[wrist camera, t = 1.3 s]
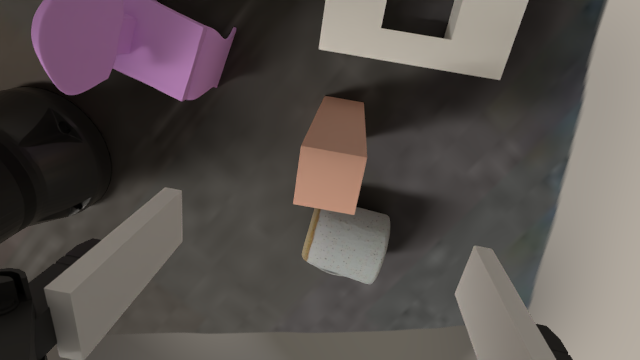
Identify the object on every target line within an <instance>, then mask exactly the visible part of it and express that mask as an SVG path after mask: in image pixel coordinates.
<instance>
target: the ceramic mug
mask: <svg viewBox="0 0 640 360" xmlns="http://www.w3.org/2000/svg"><path fill="white" fill-rule="evenodd" d="M389 236H390V218H389V216H388V215H386V214H382V213H378V212H374V211H370V210H366V209H363V208H359V207H356V210H355V214H354V215H351V214H345V213H340V212H334V211H329V210H324V209H318V208H315V209H314V213H313V216H312V219H311V223H310V226H309V230H308V233H307V236H306V240H305V243H304V247H303V251H302V256H303V258H304V260H305V261H307V262H308V263H310V264H312V265H314V266H316V267H318V268H319V269H321V270H322V271H325V272H327V273H330V274H333V275H338V276H346V277H349V278H352V279H354V280H357V281H360V282H363V283H366V284H372V283H373V282H374V281H375V279H376V278H377V276H378V274H379V272H380V269H381V266H382V263H383V260H384V258H385V254H386V251H387V247H388V240H389Z"/></svg>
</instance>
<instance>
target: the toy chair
mask: <svg viewBox="0 0 640 360" xmlns="http://www.w3.org/2000/svg"><path fill="white" fill-rule="evenodd" d="M236 29H237V28H235V27H233V29H232V31H231V33H230V35H229V36H228V38H226V39H224V38H223V37H222V36H221V35H220V34H219V33H218V32H217V31H216V30H215V29H213V28H211V27H208V26H206V25H203V24H201V23H199V22H197V21H195V20H193V19H191V18H189V17H187V16H185V15H183V14H180V13H178V12H176V11H174V10H172V9H170V8H168V7H166V6H164V5H163V4H161V3H159V2H157V0H44V1H43V2H42V3H41V5H40V6H39V8H38V9H37V11H36V13H35V15H34V17H33V21H32V28H31V37H32V43H33V47H34V49H35V52H36V54H37V56H38V58H39V60H40V62H41V64H42V66H43V68H44V69H45V71H46V73H47V74H48V76H49V77H50V79H51V80H52V82H53V83H54V85H55V86H56V87H57V88H58V89H59V90H60V91H61V92H63V93H65V94H66V95H77V94H80V93H83V92H85V91H87V90H89V89H91V88H92V87H94V86H96V85H98V84H99V83H101V82H103V81H104V80H106V79H108V78H109V75H110V73H111V70H112V68H113V69H115V70H117V71H119V72H121V73H123V74H125V75H128V76H130V77H132V78H134V79H137V80H139V81H141V82H143V83H145V84H147V85H149V86H151V87H153V88H155V89H157V90H159V91H161V92H163V93H165V94H167V95H169V96H171V97H173V98H175V99H177V100H179V101H184V100H186V99H187V100H195V99H197V98H198V97H200V96H201V95H203V94H204V93H206V92H207V91H208V90H210V89H211V88H212V87H215V88H217V86H218V83H219V80H220V77H221V74H222V71H223V68H224V65H225V62H226V59H227V56H228V53H229V50H230V47H231V44H232V41H233V39H234V36H235V32H236Z"/></svg>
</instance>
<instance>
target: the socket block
mask: <svg viewBox="0 0 640 360" xmlns="http://www.w3.org/2000/svg"><path fill="white" fill-rule="evenodd" d="M528 1H529V0H454V4H453V7H452V11H451V14H450V18H449V21H448V25H447V29H446V32H445V36H444V39H443V38H437V37H431V36H425V35H419V34H413V33H407V32H402V31H396V30H390V29H384V28H381V26H382V21H383V16H384V11H385V7H386V2H387V0H326V1H325V8H324V15H323V22H322V29H321V36H320V43H319V49H320V50H326V51H332V52H338V53H343V54H349V55H355V56H361V57H367V58H373V59H379V60H384V61H390V62H396V63H402V64H408V65H414V66H420V67H425V68H431V69H437V70H443V71H449V72H455V73H461V74H466V75H472V76H478V77H484V78H490V79H496V80H500V79H501V76H502V73H503V71H504V68H505V65H506V62H507V59H508V57H509V54H510V51H511V48H512V45H513V43H514V40H515V37H516V34H517V31H518V29H519V26H520V23H521V20H522V18H523V15H524V12H525V9H526V6H527V4H528Z"/></svg>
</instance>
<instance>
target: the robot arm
mask: <svg viewBox="0 0 640 360" xmlns="http://www.w3.org/2000/svg"><path fill="white" fill-rule="evenodd" d="M110 178H111V161H110V156H109V152H108V149H107V146H106V144H105V142H104V140H103V138H102V136H101V134H100V132H99V131H98V129H97V128H96V126H95V125H94V124H93V123H92V121H91V120H90V119H89V118H88V117H87V116H86V115H85V114H84V113H83V112H82V111H81V110H80V109H79V108H78V107H76V106H75V105H74V104H72V103H71V102H69V101H68V100H66V99H65V98H63V97H61V96H59V95H57V94H55V93H53V92H50V91H47V90H44V89H40V88H34V87H18V88H13V89H8V90H2V91H0V243H2V242H3V241H5V240H6V239H8V238H9V237H11V236H13V235H14V234H16V233H17V232H19V231H21V230H22V229H24V228H26V227H28V226H31V225H35V224H40V223H44V222H48V221H52V220H56V219H60V218H64V217H68V216H71V215H74V214H77V213H79V212H81V211H83V210H85V209H86V208H88V207H89V206H91V205H92V204H94V203H95V202H97V201H98V200H99V199H100V198H101V197H102V196H103V195H104V193H105V192H106V190H107V188H108V186H109V183H110ZM182 241H183V240H182V190H177V189H172V188H166V187H165V188H164V189H163V190H161V191H160V192H159V193H158V194H157V195H155V196H154V197H153V198H152V199H151V200H149V201H148V202H147V203H146V204H145V205H143V206H142V207H141V208H140V209H139V210H137V211H136V212H135V213H134V214H133V215H131V216H130V217H129V218H128V219H127V220H125V221H124V222H123V223H122V224H121V225H119V226H118V227H117V228H116V229H114V230H113V231H112V232H111V233H110V234H108V235H107V236H106V237H105V238H104V239H102V240H99V239H90V240H88V241H86V242H84V243H81V244H79V245H77V246H76V247H74V248H73V249H72V250H71V251H69V252H68V253H67V254H66V255H65V256H63V257H62V258H60V259H59V260H58V261H56V264H53V265H51V266H50V267H49V268H47V269H46V270H45V271H44V272H42V273H41V274H40V275H38V276H37V277H36V278H35V279H33V280H32V281H31V282H29V283H28V280H27V276H26V274H25V272H23V271H21V270H20V269H13V268H6V269H0V360H47V356H46V354H47V353H48V352H49V351H50V350H51V349H52V347H54V345H55V344H57V348H58V353H59V357H63V358H68V359H73V360H85V359H86V358H87V356H88V355H89V354H90V352H91V351H92V350H93V349H94V348H95V347H96V345H97V344H98V343H99V342H100V341H101V339H102V338H103V337H104V336H105V335H106V333H107V332H108V331H109V330H110V329H111V327H112V326H113V325H114V324H115V322H116V321H117V320H118V319H119V318H120V316H121V315H122V314H123V313H124V312H125V310H126V309H127V308H128V307H129V305H130V304H131V303H132V302H133V301H134V299H135V298H136V297H137V296H138V295H139V293H140V292H141V291H142V290H143V288H144V287H145V286H146V285H147V284H148V282H149V281H150V280H151V279H152V278H153V276H154V275H155V274H156V273H157V272H158V270H159V269H160V268H161V267H162V265H163V264H164V263H165V262H166V261H167V259H168V258H169V257H170V256H171V255H172V253H173V252H174V251H175V250H176V248H177V247H178V246H179V245H180V244H181V242H182ZM455 296H456V299H457V302H458V305H459V308H460V311H461V314H462V317H463V319H464V322H465V325H466V328H467V331H468V334H469V337H470V340H471V342H472V345H473V348H474V351H475V354H476V357H477V360H573V359H572V358H571V356H570V355H568V352H567V350H566V348H565V347H564V345H563V343H562V342H561V340H560V339H559V338H558V337H557V336H556V335H555V334H554V333H553V332H552V331H551V330H550V329H549V328H548V327H547V326H544V325H539V324H535V322H534V321H533V319H532V317H531V315H530V314H529V312H528V310H527V308H526V307H525V305H524V303H523V301H522V300H521V298H520V296H519V295H518V293H517V291H516V289H515V288H514V286H513V284H512V283H511V281H510V279H509V277H508V276H507V274H506V272H505V270H504V269H503V267H502V265H501V264H500V262H499V260H498V258H497V257H496V255H495V253H494V252H493V250H492V249H490V248H485V247H480V246H474V247H473V250H472V252H471V255H470V257H469V260H468V262H467V265H466V267H465V270H464V272H463V275H462V277H461V280H460V282H459V284H458V287H457V289H456V292H455Z"/></svg>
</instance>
